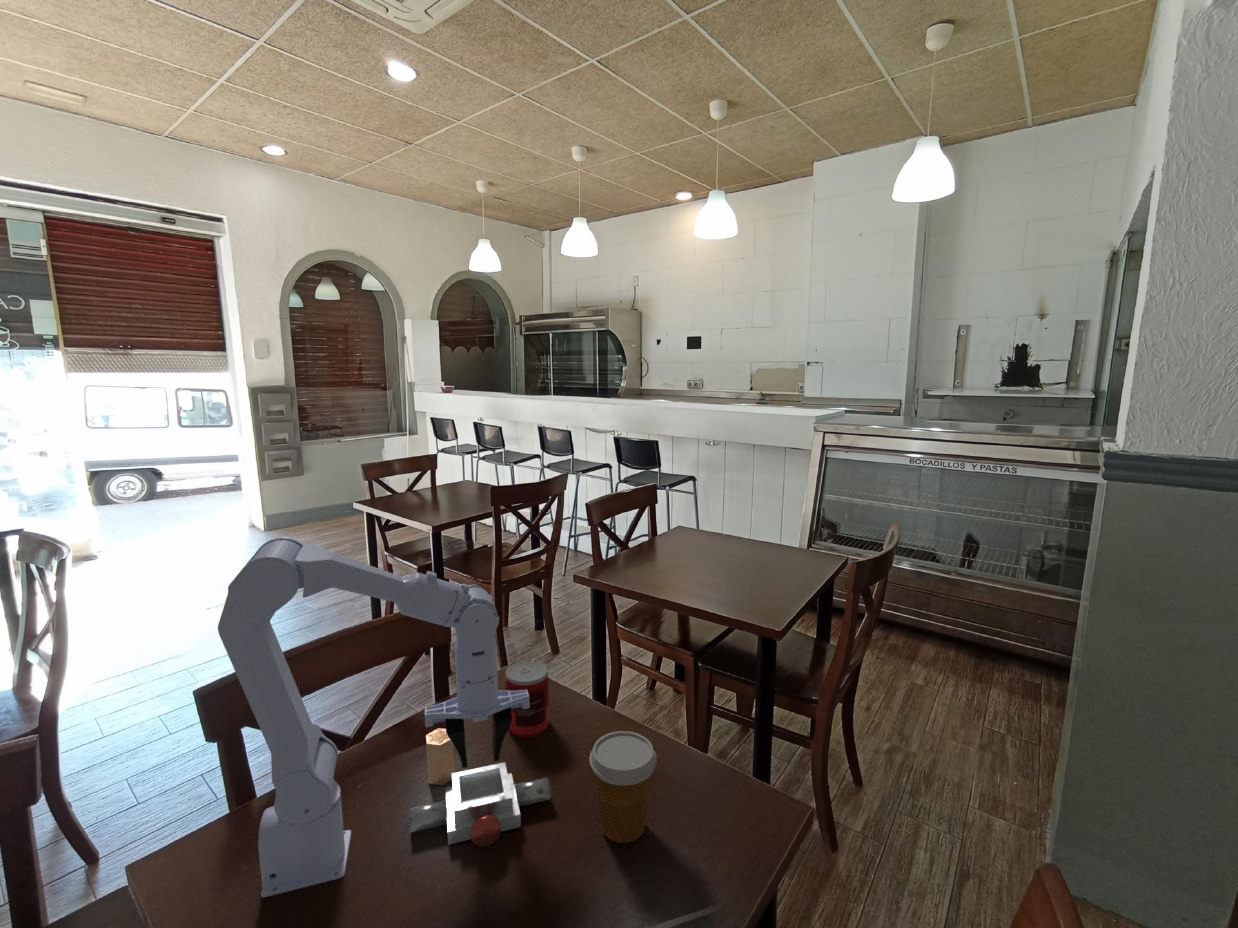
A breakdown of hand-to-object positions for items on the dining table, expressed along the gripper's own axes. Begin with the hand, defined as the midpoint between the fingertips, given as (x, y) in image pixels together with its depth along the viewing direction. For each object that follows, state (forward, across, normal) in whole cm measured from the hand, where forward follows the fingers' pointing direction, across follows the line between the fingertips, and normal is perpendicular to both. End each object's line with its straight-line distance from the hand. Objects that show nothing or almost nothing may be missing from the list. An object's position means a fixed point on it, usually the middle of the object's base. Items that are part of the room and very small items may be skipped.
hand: (480, 759), depth 82 cm
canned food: (+9, +10, +19) cm, 23 cm away
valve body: (+9, 0, 0) cm, 9 cm away
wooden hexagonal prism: (+9, -6, +10) cm, 14 cm away
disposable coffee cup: (+9, +19, -9) cm, 23 cm away
